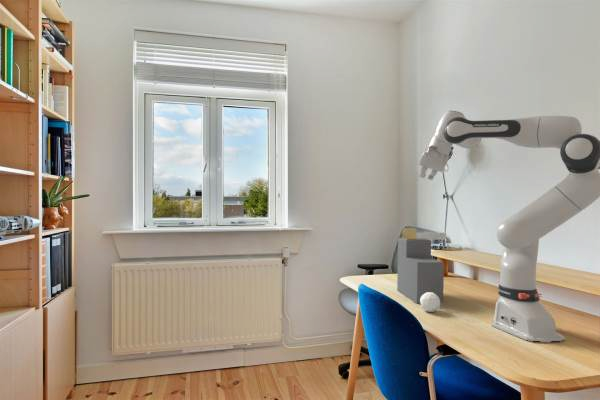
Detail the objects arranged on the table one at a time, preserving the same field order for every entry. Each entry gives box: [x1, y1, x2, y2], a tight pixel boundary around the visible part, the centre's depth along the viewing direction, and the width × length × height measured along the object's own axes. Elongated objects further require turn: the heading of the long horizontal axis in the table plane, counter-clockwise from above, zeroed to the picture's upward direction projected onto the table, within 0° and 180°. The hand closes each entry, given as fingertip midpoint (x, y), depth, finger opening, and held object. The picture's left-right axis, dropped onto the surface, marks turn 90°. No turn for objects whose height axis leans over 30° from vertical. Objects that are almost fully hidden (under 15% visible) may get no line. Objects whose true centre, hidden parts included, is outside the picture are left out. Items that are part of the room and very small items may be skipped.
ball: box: [419, 292, 441, 313], centre depth 145 cm, size 8×8×8 cm
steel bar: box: [401, 227, 447, 241], centre depth 173 cm, size 5×20×5 cm, turn 97°
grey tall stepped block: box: [396, 237, 445, 305], centre depth 167 cm, size 22×12×26 cm, turn 7°
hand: (425, 178), depth 157 cm, fingers open, 8 cm apart
